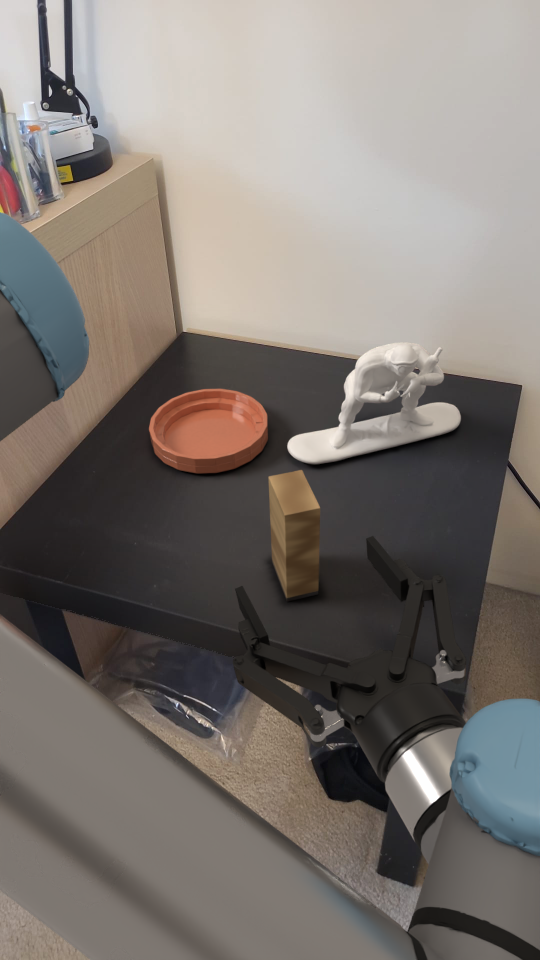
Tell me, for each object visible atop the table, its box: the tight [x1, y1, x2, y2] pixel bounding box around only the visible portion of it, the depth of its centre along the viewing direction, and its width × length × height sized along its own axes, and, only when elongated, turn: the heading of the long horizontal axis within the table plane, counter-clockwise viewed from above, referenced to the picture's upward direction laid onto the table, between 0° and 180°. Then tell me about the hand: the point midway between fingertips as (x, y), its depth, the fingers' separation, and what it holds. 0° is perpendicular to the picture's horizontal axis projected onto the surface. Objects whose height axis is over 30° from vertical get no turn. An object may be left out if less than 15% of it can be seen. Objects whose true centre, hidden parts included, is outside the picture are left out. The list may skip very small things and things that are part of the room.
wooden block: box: [267, 469, 321, 603], centre depth 72 cm, size 4×6×13 cm, turn 15°
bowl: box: [148, 388, 269, 474], centre depth 95 cm, size 16×16×3 cm
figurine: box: [286, 341, 462, 465], centre depth 89 cm, size 26×13×17 cm, turn 109°
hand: (306, 571), depth 66 cm, fingers open, 13 cm apart
